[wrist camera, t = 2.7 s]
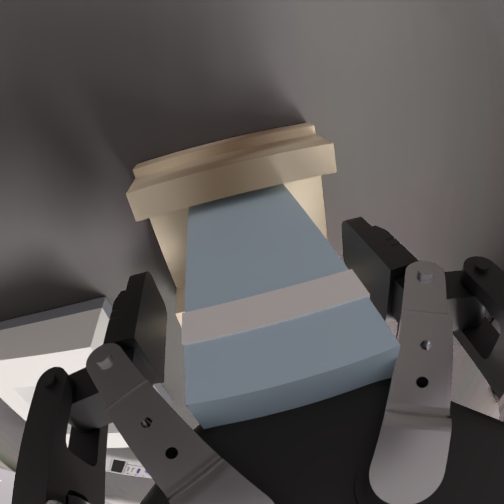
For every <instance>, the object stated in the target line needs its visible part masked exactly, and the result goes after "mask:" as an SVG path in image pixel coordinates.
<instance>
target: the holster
mask: <svg viewBox="0 0 504 504" xmlns="http://www.w3.org/2000/svg"><path fill="white" fill-rule="evenodd" d="M336 172H337V171H336V161H335V152H334V143H332V142H330V141H328V140H326V139H324V138H322V137H320V136H318V135H316V134H315V127H314V125H311V124H309V123H302V124H297V125H291V126H285V127H280V128H275V129H270V130H265V131H260V132H255V133H250V134H246V135H241V136H237V137H233V138H228V139H224V140H220V141H216V142H212V143H208V144H204V145H200V146H197V147H193V148H189V149H186V150H182V151H178V152H175V153H171V154H168V155H165V156H161V157H158V158H155V159H151V160H148V161H145V162H142V163H139V164H137V165H136V166H135V167H134V169H133V173H134V176H135V180H134V181H133V183H132V185H131V186H130V188H129V190H128V191H127V193H126V196H127V198H128V201H129V204H130V207H131V209H132V212H133V215H134V217H135V220H136V222H138V221H141V220H145V219H148V218H149V219H150V221H151V224H152V227H153V229H154V232H155V235H156V237H157V240H158V243H159V245H160V248H161V250H162V253H163V256H164V258H165V261H166V263H167V266H168V268H169V271H170V273H171V275H172V278H173V280H174V283H175V285H176V288H177V291H176V310H175V314H176V316H177V318H178V321H179V323H180V325H181V327H182V313H185V277H186V249H187V228H188V210H189V207H191V206H194V205H198V204H202V203H206V202H210V201H213V200H217V199H221V198H225V197H229V196H233V195H237V194H241V193H245V192H249V191H254V190H258V189H262V188H266V187H271V186H275V185H279V184H284V185H285V187H286V188H287V189H288V190H289V192H290V193H291V194H292V195H293V197H294V198H295V199H296V200H297V202H298V203H299V204H300V205H301V207H302V208H303V209H304V211H305V212H306V213H307V214H308V216H309V217H310V218H311V220H312V221H313V222H314V223H315V225H316V226H317V227H318V229H319V230H320V231H321V233H322V234H323V235H324V237H325V238H326V239H327V231H326V219H325V209H324V199H323V189H322V180H321V175H326V174H331V173H336Z"/></svg>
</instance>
